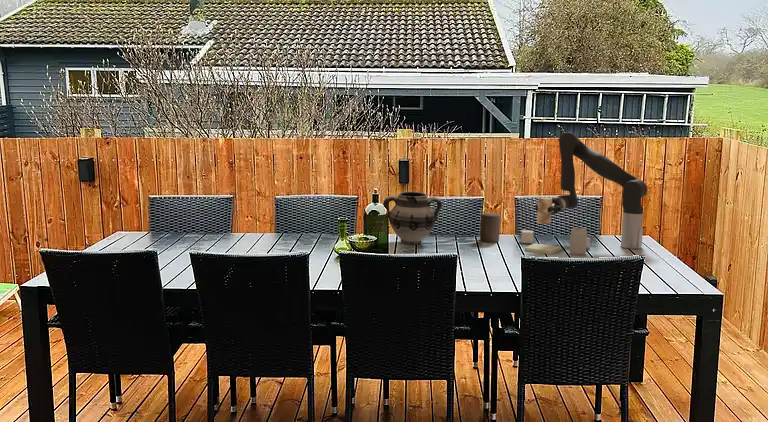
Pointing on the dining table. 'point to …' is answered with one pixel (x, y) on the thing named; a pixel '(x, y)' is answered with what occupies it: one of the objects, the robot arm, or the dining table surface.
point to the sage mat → (542, 248)
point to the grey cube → (527, 236)
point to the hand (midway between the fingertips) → (542, 209)
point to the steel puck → (588, 243)
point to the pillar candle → (490, 227)
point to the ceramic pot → (412, 216)
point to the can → (578, 241)
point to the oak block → (544, 211)
